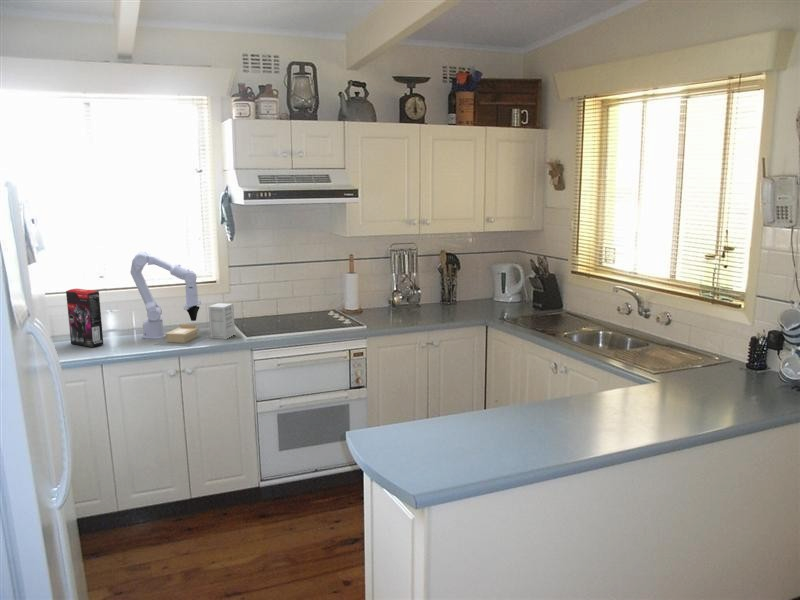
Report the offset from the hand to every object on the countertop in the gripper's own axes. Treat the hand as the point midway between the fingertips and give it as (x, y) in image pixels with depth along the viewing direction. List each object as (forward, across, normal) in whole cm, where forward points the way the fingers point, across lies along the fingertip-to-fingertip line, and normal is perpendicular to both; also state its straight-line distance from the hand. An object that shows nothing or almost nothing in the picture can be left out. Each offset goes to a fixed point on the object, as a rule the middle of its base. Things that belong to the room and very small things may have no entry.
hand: (193, 320), depth 346 cm
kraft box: (+7, -12, 0) cm, 14 cm away
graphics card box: (+8, -28, +43) cm, 52 cm away
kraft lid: (+4, -12, 0) cm, 13 cm away
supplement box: (+8, -2, -17) cm, 19 cm away
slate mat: (+8, -13, 0) cm, 15 cm away
